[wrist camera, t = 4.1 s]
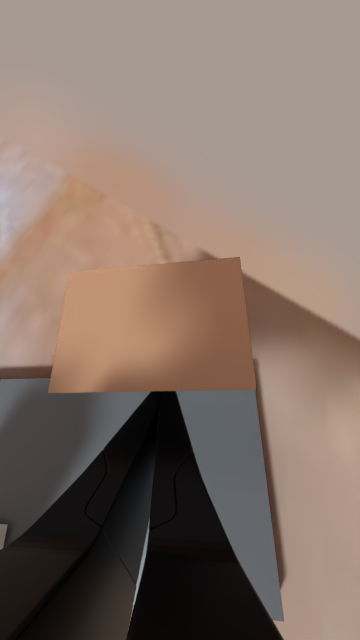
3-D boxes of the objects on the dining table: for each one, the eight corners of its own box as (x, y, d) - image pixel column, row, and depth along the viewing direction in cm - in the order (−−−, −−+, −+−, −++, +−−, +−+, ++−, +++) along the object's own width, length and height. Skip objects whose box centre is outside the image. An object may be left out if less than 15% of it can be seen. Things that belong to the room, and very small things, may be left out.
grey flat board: (276, 599, 12) (286, 627, 11) (-70, 567, 15) (-99, 586, 14) (249, 374, 16) (253, 372, 15) (-18, 380, 19) (-36, 380, 18)
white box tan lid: (226, 389, 15) (256, 389, 6) (140, 390, 16) (47, 393, 7) (221, 330, 16) (239, 256, 7) (142, 334, 17) (69, 271, 8)
